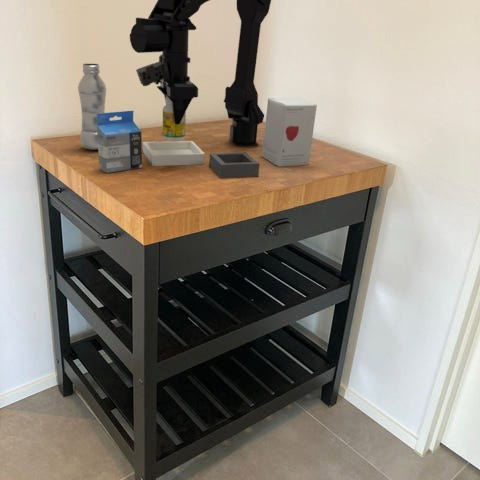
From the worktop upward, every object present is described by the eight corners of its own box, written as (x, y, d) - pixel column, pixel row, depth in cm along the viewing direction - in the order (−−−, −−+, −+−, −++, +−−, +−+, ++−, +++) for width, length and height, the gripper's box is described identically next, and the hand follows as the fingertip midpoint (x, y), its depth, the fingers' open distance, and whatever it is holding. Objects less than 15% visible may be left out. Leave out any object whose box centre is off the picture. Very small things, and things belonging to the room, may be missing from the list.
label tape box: (106, 174, 113) (104, 117, 108) (98, 168, 116) (95, 113, 111) (142, 168, 118) (142, 113, 113) (133, 163, 121) (133, 110, 116)
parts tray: (192, 150, 134) (192, 140, 133) (204, 164, 124) (205, 153, 123) (142, 151, 130) (142, 141, 129) (152, 166, 120) (152, 155, 119)
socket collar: (244, 164, 126) (245, 152, 125) (258, 176, 119) (259, 163, 118) (209, 165, 123) (209, 153, 122) (220, 178, 116) (221, 165, 115)
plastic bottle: (75, 150, 127) (69, 64, 119) (91, 143, 133) (87, 61, 124) (98, 154, 125) (94, 67, 117) (113, 147, 131) (111, 64, 123)
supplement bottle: (189, 139, 125) (190, 98, 120) (169, 142, 122) (169, 100, 117) (178, 134, 128) (178, 94, 124) (158, 136, 125) (158, 95, 121)
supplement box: (278, 167, 126) (284, 104, 120) (261, 156, 133) (266, 97, 127) (310, 165, 130) (318, 104, 123) (291, 154, 137) (298, 96, 131)
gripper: (132, 45, 122) (133, 112, 128) (147, 56, 106) (147, 132, 113) (178, 47, 125) (177, 112, 132) (199, 57, 110) (197, 131, 116)
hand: (174, 121), depth 123 cm, fingers closed on supplement bottle, 5 cm apart
